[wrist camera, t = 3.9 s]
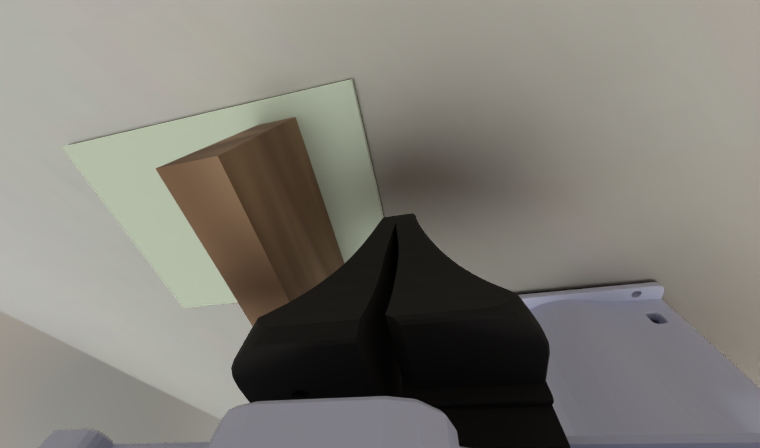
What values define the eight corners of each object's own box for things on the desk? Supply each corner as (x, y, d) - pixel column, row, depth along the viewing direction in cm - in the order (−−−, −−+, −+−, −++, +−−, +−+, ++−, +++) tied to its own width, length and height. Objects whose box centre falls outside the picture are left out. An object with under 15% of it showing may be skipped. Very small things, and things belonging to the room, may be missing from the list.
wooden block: (295, 116, 13) (217, 156, 8) (349, 278, 18) (325, 374, 12) (257, 125, 13) (155, 168, 8) (320, 281, 18) (284, 377, 13)
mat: (352, 78, 12) (351, 79, 12) (398, 281, 18) (398, 285, 18) (68, 144, 15) (60, 147, 15) (186, 304, 21) (183, 308, 20)
